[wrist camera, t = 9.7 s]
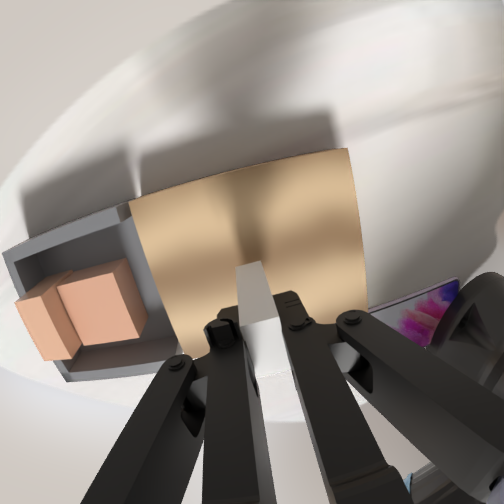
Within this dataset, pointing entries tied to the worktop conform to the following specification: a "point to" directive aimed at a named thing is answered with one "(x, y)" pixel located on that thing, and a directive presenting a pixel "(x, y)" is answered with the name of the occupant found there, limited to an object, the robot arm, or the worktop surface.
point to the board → (255, 240)
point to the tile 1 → (49, 319)
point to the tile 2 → (104, 303)
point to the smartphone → (418, 311)
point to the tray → (88, 255)
